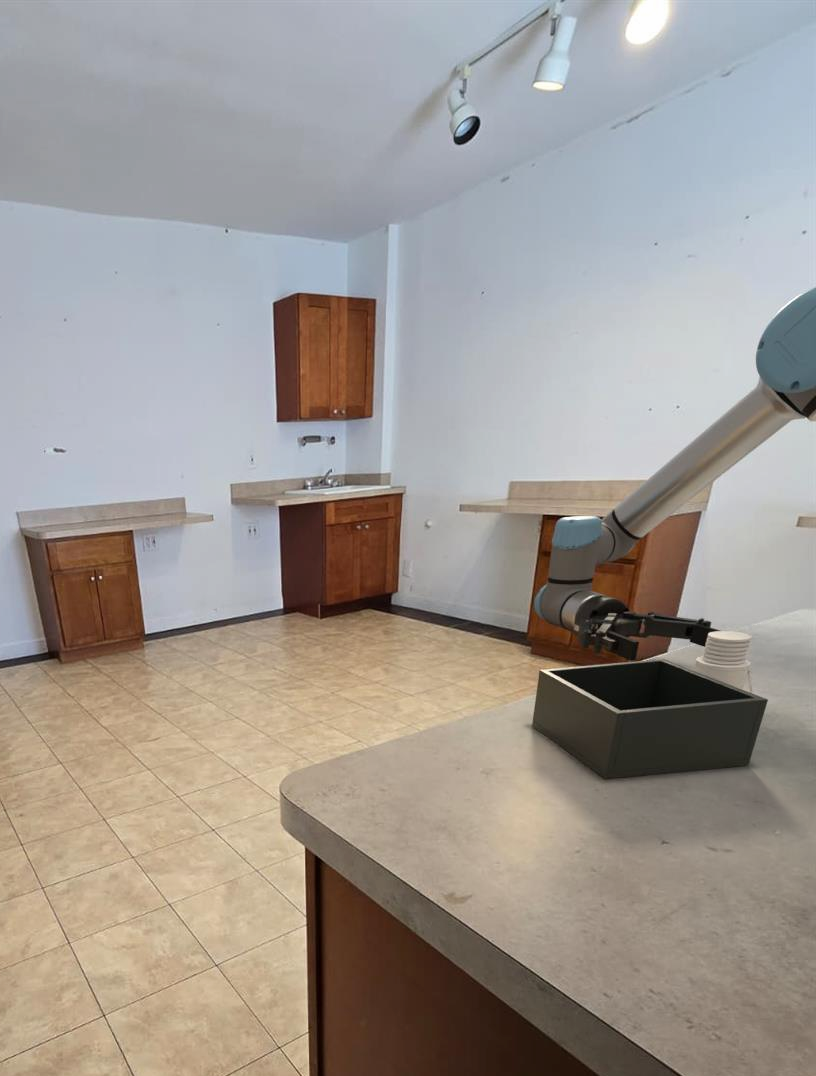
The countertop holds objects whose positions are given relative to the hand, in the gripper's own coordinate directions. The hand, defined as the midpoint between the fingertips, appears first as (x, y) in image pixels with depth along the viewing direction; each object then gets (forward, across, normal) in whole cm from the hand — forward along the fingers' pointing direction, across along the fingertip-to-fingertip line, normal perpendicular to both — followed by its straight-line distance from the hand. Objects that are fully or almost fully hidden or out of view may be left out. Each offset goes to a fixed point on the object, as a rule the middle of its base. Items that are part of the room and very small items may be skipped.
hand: (680, 647), depth 91 cm
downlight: (+8, 0, -7) cm, 10 cm away
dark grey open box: (+17, +17, -6) cm, 25 cm away
